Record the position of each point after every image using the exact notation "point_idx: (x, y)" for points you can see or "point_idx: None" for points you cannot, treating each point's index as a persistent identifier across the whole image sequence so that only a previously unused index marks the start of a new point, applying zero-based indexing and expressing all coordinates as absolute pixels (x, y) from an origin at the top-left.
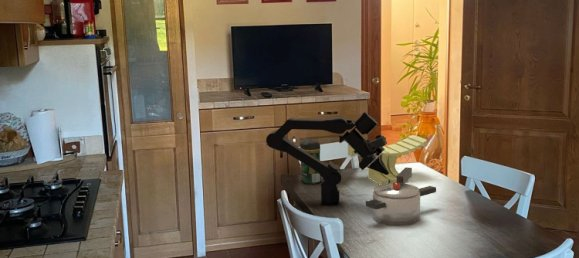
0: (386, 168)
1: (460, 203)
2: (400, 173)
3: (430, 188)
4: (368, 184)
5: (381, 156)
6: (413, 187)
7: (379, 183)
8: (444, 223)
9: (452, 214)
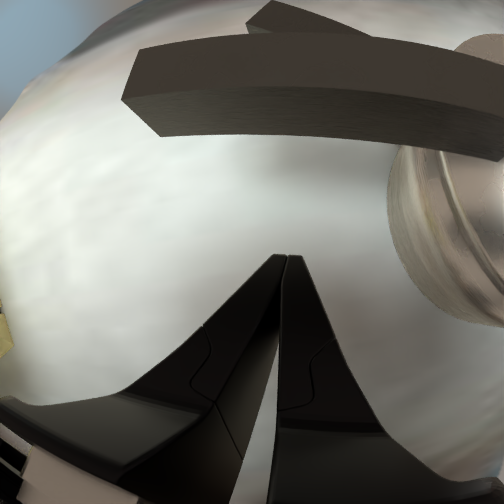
0: (260, 290)
1: (199, 22)
2: (424, 87)
3: (304, 13)
4: (18, 388)
5: (127, 441)
6: (492, 55)
7: (6, 347)
8: (455, 45)
9: (345, 21)
